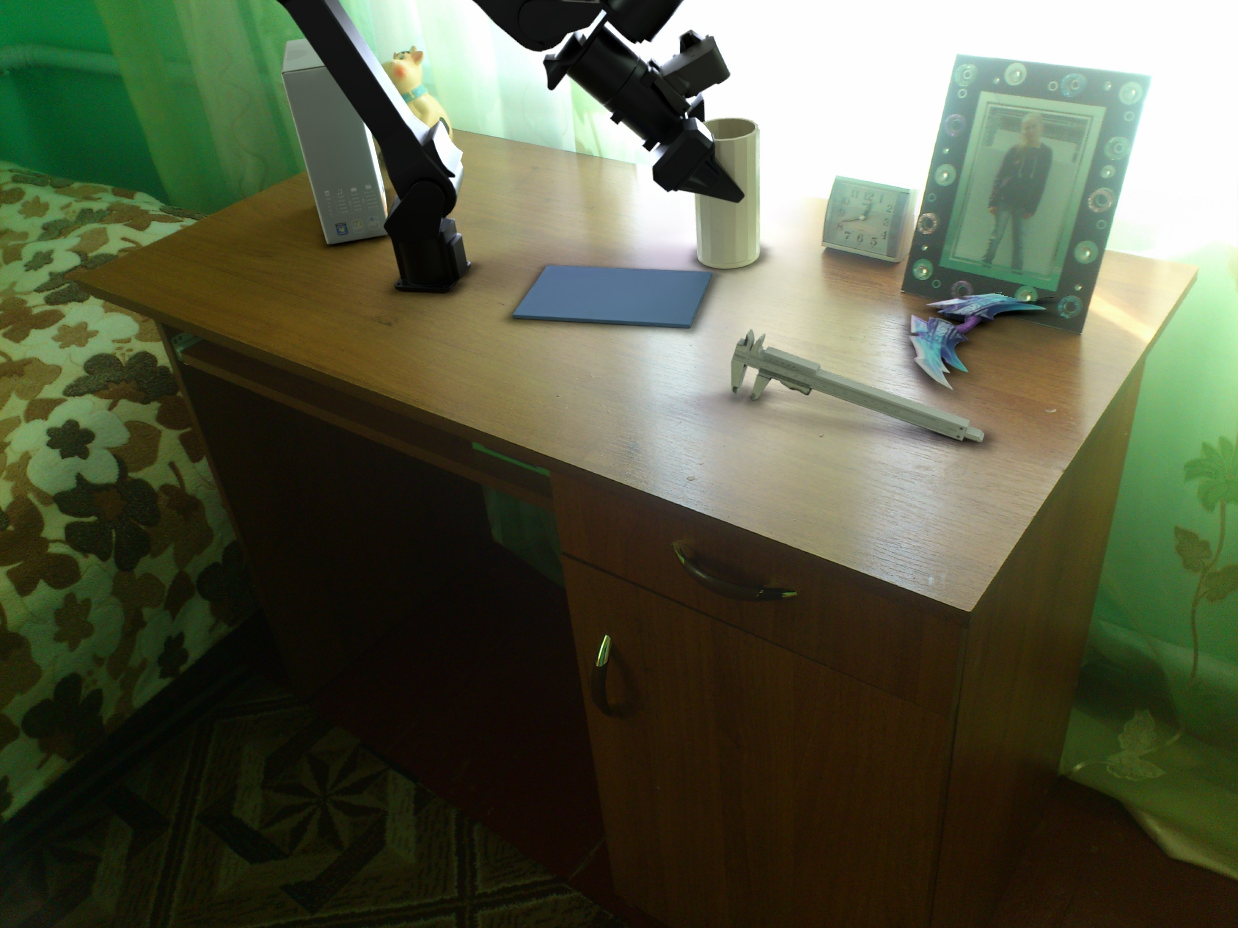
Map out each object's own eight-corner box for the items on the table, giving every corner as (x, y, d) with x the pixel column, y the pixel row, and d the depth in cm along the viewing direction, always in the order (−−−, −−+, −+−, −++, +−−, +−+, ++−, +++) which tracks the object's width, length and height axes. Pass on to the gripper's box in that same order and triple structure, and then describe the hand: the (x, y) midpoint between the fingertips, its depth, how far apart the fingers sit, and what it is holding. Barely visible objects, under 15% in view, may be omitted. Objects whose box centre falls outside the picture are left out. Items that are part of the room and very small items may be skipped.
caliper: (730, 396, 83) (729, 332, 79) (735, 389, 84) (734, 325, 80) (981, 445, 74) (993, 376, 71) (984, 437, 75) (996, 368, 71)
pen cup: (713, 274, 101) (708, 145, 93) (687, 250, 106) (681, 126, 98) (770, 259, 102) (771, 131, 94) (742, 236, 108) (741, 113, 99)
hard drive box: (392, 236, 116) (350, 62, 104) (327, 248, 115) (277, 73, 103) (386, 190, 128) (347, 29, 116) (327, 200, 127) (282, 39, 115)
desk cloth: (512, 318, 97) (512, 314, 97) (548, 268, 106) (547, 265, 105) (689, 328, 93) (689, 324, 92) (712, 275, 101) (712, 271, 101)
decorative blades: (981, 266, 95) (1079, 297, 89) (980, 273, 96) (1077, 305, 89) (854, 344, 86) (953, 385, 79) (853, 352, 86) (952, 393, 80)
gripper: (683, 37, 83) (809, 154, 89) (671, -11, 98) (780, 92, 104) (599, 138, 88) (724, 242, 94) (600, 78, 103) (708, 171, 109)
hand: (736, 181), depth 100 cm, fingers open, 9 cm apart
